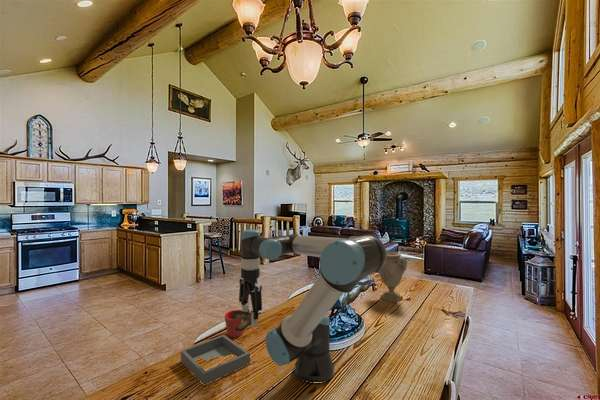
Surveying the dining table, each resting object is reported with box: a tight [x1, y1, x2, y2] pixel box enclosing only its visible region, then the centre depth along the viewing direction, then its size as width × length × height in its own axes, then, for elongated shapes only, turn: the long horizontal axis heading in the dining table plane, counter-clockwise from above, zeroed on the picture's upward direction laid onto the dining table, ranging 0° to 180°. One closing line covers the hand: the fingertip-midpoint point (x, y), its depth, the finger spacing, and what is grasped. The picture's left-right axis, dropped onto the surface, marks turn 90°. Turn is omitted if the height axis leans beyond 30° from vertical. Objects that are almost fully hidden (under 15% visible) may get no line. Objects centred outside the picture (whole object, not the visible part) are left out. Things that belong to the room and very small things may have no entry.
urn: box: [377, 251, 408, 303], centre depth 187 cm, size 24×18×30 cm
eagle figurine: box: [231, 308, 252, 331], centre depth 114 cm, size 8×7×9 cm
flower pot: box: [224, 309, 245, 338], centre depth 140 cm, size 11×11×10 cm
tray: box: [180, 334, 251, 385], centre depth 115 cm, size 21×19×4 cm
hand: (249, 323), depth 116 cm, fingers closed on eagle figurine, 7 cm apart
